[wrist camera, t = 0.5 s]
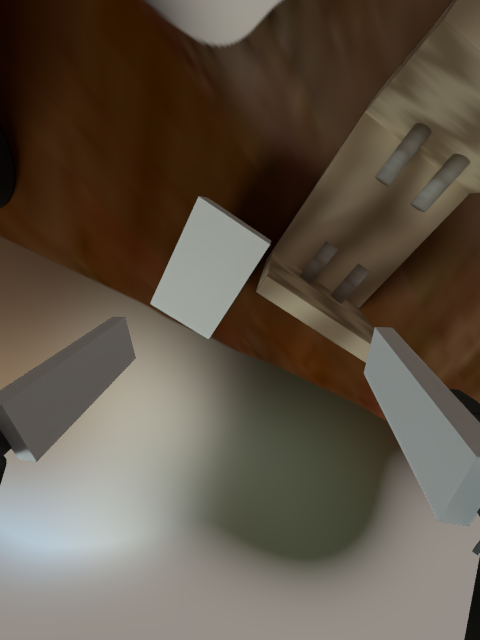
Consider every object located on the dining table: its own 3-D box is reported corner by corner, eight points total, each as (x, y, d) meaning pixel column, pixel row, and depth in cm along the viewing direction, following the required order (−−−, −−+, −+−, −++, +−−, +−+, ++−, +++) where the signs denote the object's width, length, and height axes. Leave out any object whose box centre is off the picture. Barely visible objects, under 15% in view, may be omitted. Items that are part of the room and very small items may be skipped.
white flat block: (161, 295, 30) (150, 303, 28) (207, 197, 25) (198, 196, 22) (214, 328, 31) (208, 339, 29) (271, 240, 26) (270, 244, 23)
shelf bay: (266, 259, 32) (256, 291, 20) (373, 97, 24) (473, -24, 11) (348, 314, 34) (387, 376, 21) (476, 179, 25) (667, 150, 13)
